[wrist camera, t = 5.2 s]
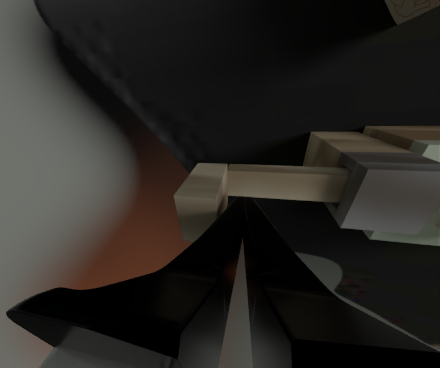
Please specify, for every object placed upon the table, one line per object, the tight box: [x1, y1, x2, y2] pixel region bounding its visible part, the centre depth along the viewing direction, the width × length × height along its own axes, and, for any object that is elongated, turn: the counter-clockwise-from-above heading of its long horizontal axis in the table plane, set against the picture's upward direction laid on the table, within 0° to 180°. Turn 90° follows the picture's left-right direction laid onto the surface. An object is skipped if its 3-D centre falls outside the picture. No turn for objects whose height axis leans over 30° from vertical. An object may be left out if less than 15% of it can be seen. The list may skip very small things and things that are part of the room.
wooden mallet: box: [174, 163, 352, 242], centre depth 9 cm, size 3×10×5 cm, turn 92°
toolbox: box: [303, 126, 440, 235], centre depth 12 cm, size 8×14×9 cm, turn 92°
